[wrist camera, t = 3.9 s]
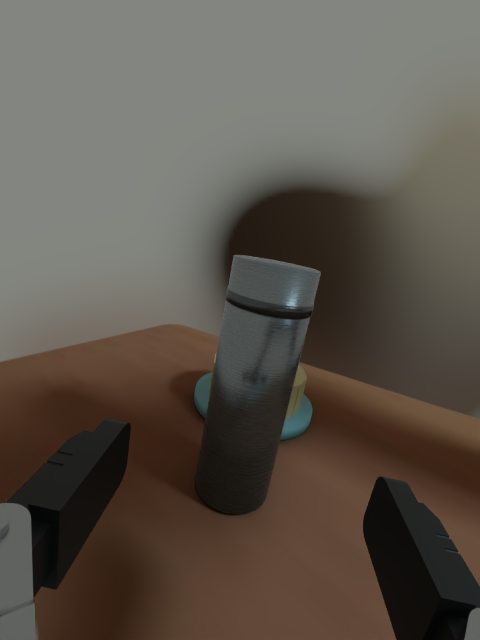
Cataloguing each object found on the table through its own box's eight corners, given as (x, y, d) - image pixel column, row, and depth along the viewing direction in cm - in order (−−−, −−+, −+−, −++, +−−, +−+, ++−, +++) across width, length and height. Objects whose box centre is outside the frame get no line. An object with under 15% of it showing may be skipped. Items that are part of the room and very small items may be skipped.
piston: (242, 452, 24) (283, 261, 20) (282, 500, 20) (341, 276, 17) (182, 467, 21) (216, 251, 18) (215, 526, 18) (268, 267, 14)
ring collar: (264, 373, 38) (271, 341, 37) (335, 427, 30) (346, 387, 29) (175, 382, 32) (181, 344, 31) (231, 453, 24) (241, 403, 23)
